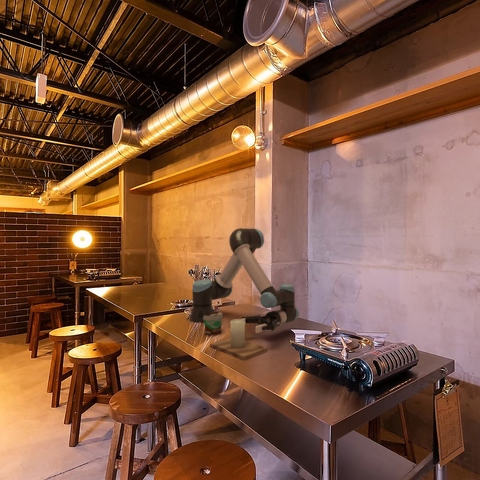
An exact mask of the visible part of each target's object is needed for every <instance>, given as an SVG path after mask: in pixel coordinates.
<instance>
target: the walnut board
mask: <svg viewBox="0 0 480 480" xmlns="http://www.w3.org/2000/svg"><path fill="white" fill-rule="evenodd" d="M209 347H210V348H212V349H214V350H217V351H220V352H223V353H225V354H228V355H231V356H233V357H234V358H238V359H240V360H243V361H246V360H248V359H251V358H254V357H256V356H258V355H261V354H264V353H266V352H268V348H267V347H266V346H262V345H258V344H256V343H254V342H250V341H247V340H245V347H243V348H233V347H231V336H230V337H227V338H223V339H221V340H217V341H214V342H210V343H209Z"/></svg>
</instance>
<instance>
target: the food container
mask: <svg viewBox="0 0 480 480" xmlns="http://www.w3.org/2000/svg"><path fill="white" fill-rule="evenodd" d="M223 317H224V315H223V312H222V311H220V310H219V311H218V312H216V313H214V314H211V315H209V316H205V315H204V317H203V320H204V322H203V323H204V334H205V335H207V336H213V335H215V336H216V335H218V334H221V332H222V319H223Z"/></svg>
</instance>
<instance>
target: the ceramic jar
mask: <svg viewBox="0 0 480 480" xmlns="http://www.w3.org/2000/svg"><path fill="white" fill-rule="evenodd" d="M229 322H230V337H231V347H233V348H243V347H245V341H246V324H245V320H242V318H235V319H231V320H230V321H229Z"/></svg>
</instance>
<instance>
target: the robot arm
mask: <svg viewBox="0 0 480 480" xmlns="http://www.w3.org/2000/svg"><path fill="white" fill-rule="evenodd" d="M264 237H265V235H264V234H263V232H262V231H261V230H260V229H259V228H253V227H252V228H241V227H239V228H237V229H235V230H233V231H232V232H231V233H230V236H229V241H228V243H229V247H230V249H231V252H232V254H231V256H230V257H229V259H228V261H227V263H226V265H225V266H224V267H223V269H222V271H221V273H219V274H217V275H216V276H215V278H214V279H213V280H211V279H199V280H196V281H194V282H193V283H192V289H191V290H192V308H191V311H190V314H189V321H190V322H193V323H204V320H203V317H204V315H205V316H209V315H211V314H215V311H214V309H213V301H215V300H220V299H221V300H222V299H225V298H228V297H230V295H231V294H232V293H233V281H234V279H235V278H236V276H237V275H238V273H239V271H240V270H241V269H242V267H243V268H244V269H245V271H246V273H247V274H248V276H249V277H250V280H251V281H252V282H253V285H255V287H256V289H257V291H258V293H259V295H260V297H259V301H260V304H261V306H262V307H263V308H265V309H273V308H275V307H278V306H279V307H280V308H279V309H274V310H272V311H268V312H267V313H266V314H265V315H262V316H261V314H259V315H258V314H257V315H249V316H242V317H241V319H242V320H245V325H246V324H257V325H256V326H255V331H254V332H255V334H258V333H261V332H266V331H271V332H273V331H275V329H277V328H278V327H279V326H281V325H285V324H288V323H292V322H294V321H296V320H297V319H298V318H299V316H300V312H299V310H298V308H297V307H296V305H295V303H296V302H295V299H296V297H295V296H296V294H295V293H296V292H295V285H293V284H289V283H288V284H287V283H286V284H280V286H279V289H277V290H276V288H275V287H274V285H273V284H272V282H271V281H270V279H269V278H268V275H266V273H265V271H264V269H263V268H262V267H261V265H260V263H259V261H258V260H257V258H256V257H255V256H254V253H255V252H256V250H257V249H261V248H262V247H263V246H264V244H265V238H264Z"/></svg>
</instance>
